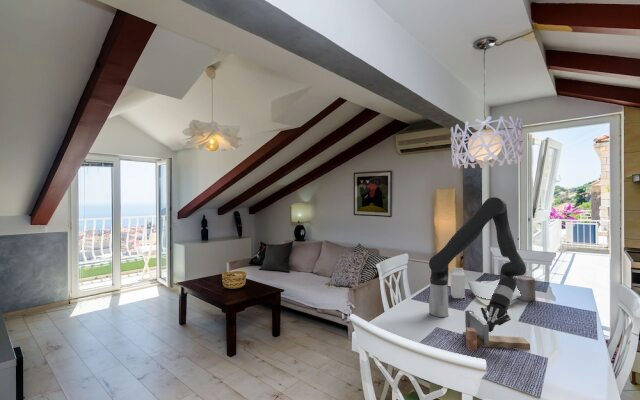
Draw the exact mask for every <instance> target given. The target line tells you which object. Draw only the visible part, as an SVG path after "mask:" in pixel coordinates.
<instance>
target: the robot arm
mask: <svg viewBox="0 0 640 400" xmlns="http://www.w3.org/2000/svg"><path fill="white" fill-rule="evenodd" d="M508 216H509V215H508V207H507V203H506V202H505V201H504V200H503V199H501V198H500V197H498V196H492V197H491V196H490V197H489V198H487V199H486V200H485V201H484V202H483V203H482V205H481V206H480V207H479V209H477V211H475V213H474V215H472V216H471V217H470V219H468V220H467V221H466V222H465V223H463V225H462V226H461V227H460V228H459V229H458V230H457V231H456V232H455V233H453V235H452V237H451V238H450V239H449V240H448V242H447V243H446V244H445V246H444V247H442V249H441V250H439V251H438V252H437V253H436V254H434V255H433V256H431V258H430V259H429V261H428V267H429V269H430V278H429V279H430V280H429V282H430V283H429V284H430V285H429V286H430V287H429V288H430V289H429V290H430V291H429V292H430V295H429V296H428V312H429V314H431V316H433V317H437V318H447V317H448V316H449V265H450V263H451V262H452V261H453V260H454V259H455V258H456V257H457V256H458V255H459V254H461V253H462V252H463V251H465V250H466V249H467V248H468V247H469V246H471V244H473V242H475V240H476V239H477V238H478V237H479V235H481V233H482V231H483V230H484V227H485V226H486V225H487V223H489V222H490V221H491V220H493V224H494V226H495V230H496V240H497V244H498V249H499V252H500V254H501V256H502V257H504V258H508V260H509V261H507V262H505V263H502V266H501V267H500V273H499V274H500V275H499V280H498V282H499V283H498V285H497V287H496V289H495V290H494V293H493V295H492V296H490V297H491V298H490V300H489V304H488V305H487V306H486V307H481V308H480V312H481V313H482V317H483V318H484V321H486V323H487V324H488V325H489V333H492V332H493V331H494V329H495V326H502V325H504V324H506V323H507V322H509V321H511V320H512V319H511V317H510V315H509V314H508V310H509V308H510V304H511V303H512V300H513V297H514V293H515V290H516V289H517V280H516V279H515V278H514V277H517V276H525V274H526V273H527V272H526V271H527V266H526V263H525V262H524V260H523V259H522V256H521V255H520V254H519V252H518V251H517V246H516V243H515V240H514V236H513V234H512V230H511V227H510V223H509V218H508Z"/></svg>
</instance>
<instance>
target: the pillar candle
mask: <svg viewBox="0 0 640 400" xmlns="http://www.w3.org/2000/svg"><path fill="white" fill-rule="evenodd" d="M535 280H536V279H535V278H534V277H533V276H527V275H522V276H516V282H517V285H516V289H517V288H518V290H519V291H520V294H521V296H520V297H519V299H518V300H520V301H523V302H535V301H536V281H535Z"/></svg>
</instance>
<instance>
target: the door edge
mask: <svg viewBox="0 0 640 400" xmlns="http://www.w3.org/2000/svg"><path fill="white" fill-rule="evenodd" d="M462 336H464V337H465V347H466V346H467V347H466V348H467V350H468V351H476V350H478V347H488V348H489V347H490V348H502V347H503V349H505V348H506V349H519V350H531V343H530V342H529V341H528V340H527V339H526V338H525V337H521V336H519V337H518V336H504V335H489V344H484V343H483V342H482V341H481V340H480V339H479V338H477V332H476V330H475V329H474V328H467V327H466V326H465V331H464V332H462Z"/></svg>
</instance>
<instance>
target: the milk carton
mask: <svg viewBox="0 0 640 400" xmlns="http://www.w3.org/2000/svg"><path fill="white" fill-rule="evenodd" d="M465 276H466V275H465V272H464V268H463V267H451V270H450V296H451V297H452V298H453V299H463V298H465V299H466V288H465V287H466V283H465V281H466V280H465V279H466V277H465Z"/></svg>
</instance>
